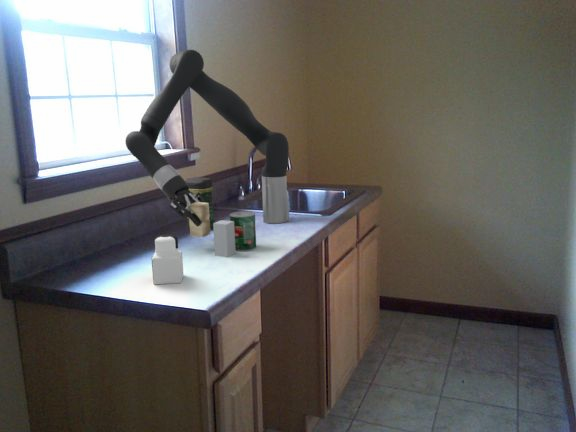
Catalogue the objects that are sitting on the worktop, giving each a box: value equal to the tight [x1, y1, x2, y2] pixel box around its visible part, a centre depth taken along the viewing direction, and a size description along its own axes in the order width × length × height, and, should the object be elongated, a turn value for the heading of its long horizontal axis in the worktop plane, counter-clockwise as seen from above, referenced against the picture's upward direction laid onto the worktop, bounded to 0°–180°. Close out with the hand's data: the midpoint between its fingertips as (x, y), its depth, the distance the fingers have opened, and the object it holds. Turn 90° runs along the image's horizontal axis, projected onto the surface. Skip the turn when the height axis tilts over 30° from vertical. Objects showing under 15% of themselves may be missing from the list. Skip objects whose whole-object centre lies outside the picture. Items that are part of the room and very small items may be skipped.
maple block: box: [189, 202, 212, 238], centre depth 181 cm, size 4×4×10 cm
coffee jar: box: [185, 176, 216, 230], centre depth 208 cm, size 10×8×19 cm
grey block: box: [212, 219, 237, 258], centre depth 175 cm, size 4×4×10 cm
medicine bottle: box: [151, 233, 184, 285], centre depth 152 cm, size 7×7×12 cm
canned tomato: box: [229, 210, 257, 252], centre depth 182 cm, size 8×8×11 cm
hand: (204, 222), depth 180 cm, fingers closed on maple block, 4 cm apart
